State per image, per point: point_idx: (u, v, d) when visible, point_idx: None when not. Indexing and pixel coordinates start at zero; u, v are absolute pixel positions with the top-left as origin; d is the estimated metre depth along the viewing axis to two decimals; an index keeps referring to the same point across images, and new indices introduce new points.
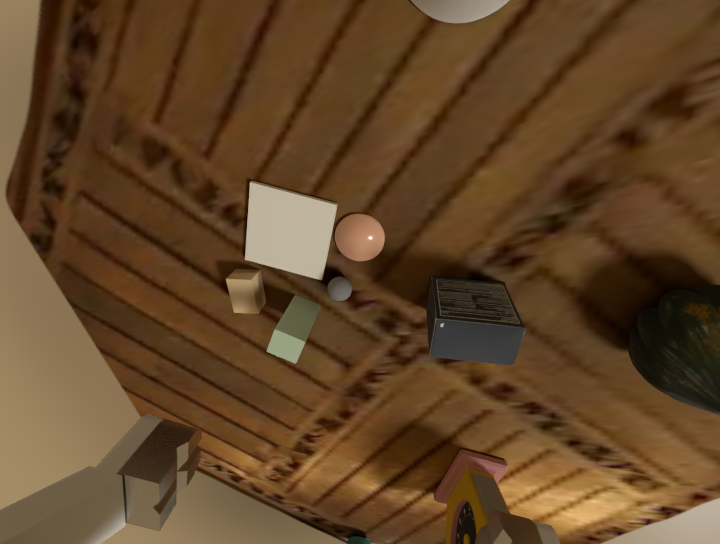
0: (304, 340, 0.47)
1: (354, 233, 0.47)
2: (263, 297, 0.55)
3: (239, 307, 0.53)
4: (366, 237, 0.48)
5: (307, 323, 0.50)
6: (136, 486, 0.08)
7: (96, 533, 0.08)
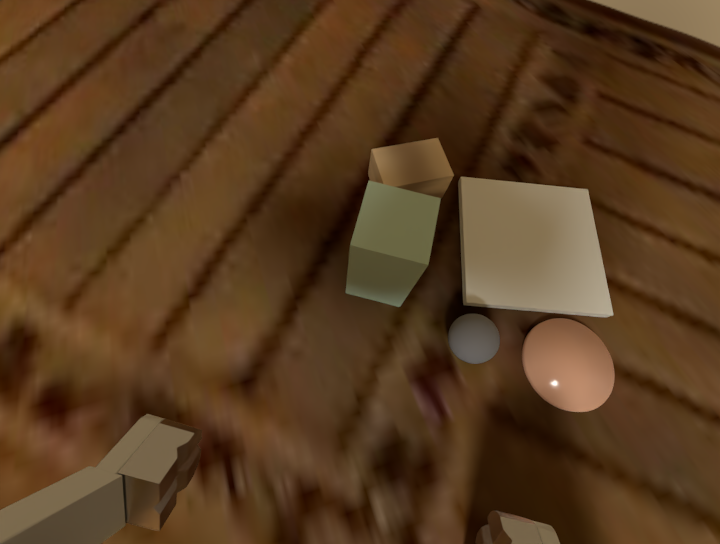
0: None
1: (575, 352, 0.27)
2: None
3: (386, 157, 0.28)
4: (577, 375, 0.26)
5: None
6: (136, 486, 0.08)
7: (96, 533, 0.08)
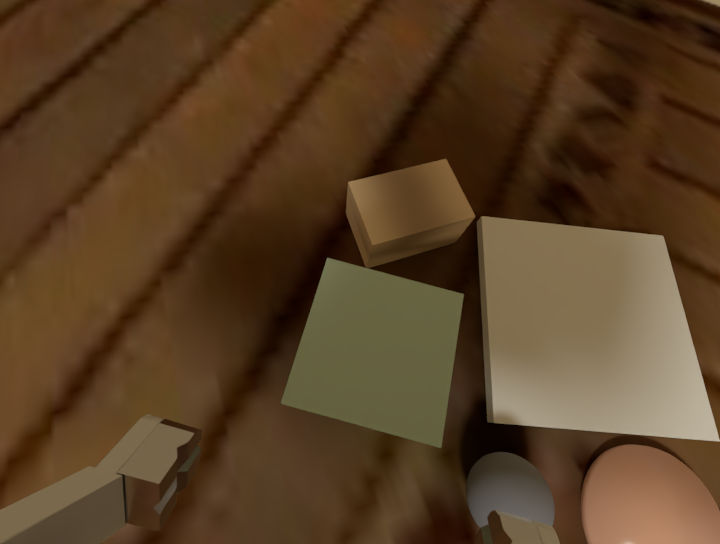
0: None
1: (665, 506, 0.17)
2: (388, 258, 0.20)
3: (371, 194, 0.19)
4: None
5: None
6: (136, 486, 0.08)
7: (96, 533, 0.08)
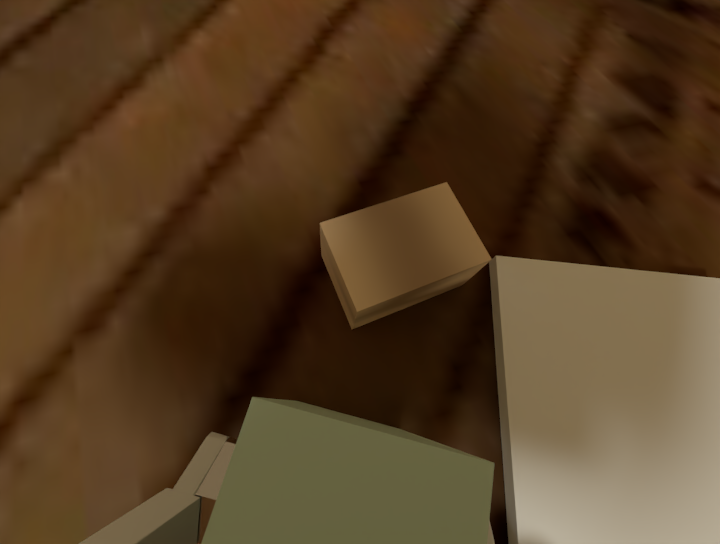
0: None
1: None
2: (380, 315, 0.15)
3: (352, 237, 0.14)
4: None
5: None
6: (212, 507, 0.08)
7: None
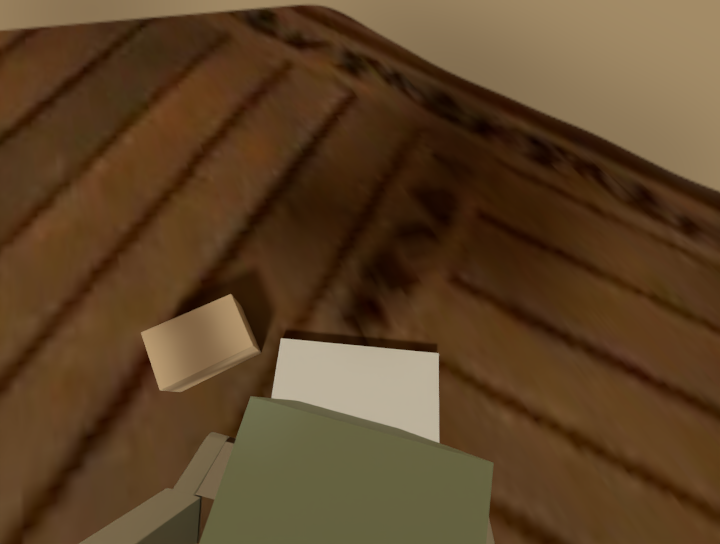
0: None
1: None
2: (196, 382, 0.24)
3: (162, 340, 0.22)
4: None
5: None
6: None
7: None
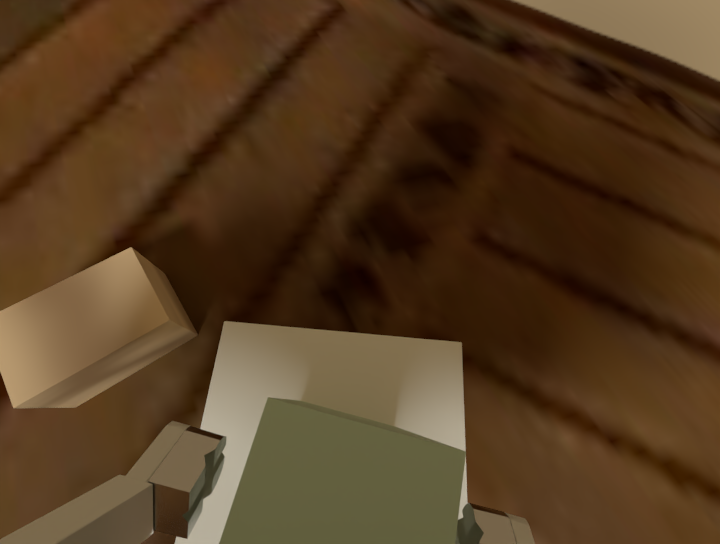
0: None
1: None
2: (95, 389, 0.16)
3: (18, 328, 0.14)
4: None
5: None
6: (166, 494, 0.08)
7: (126, 542, 0.08)
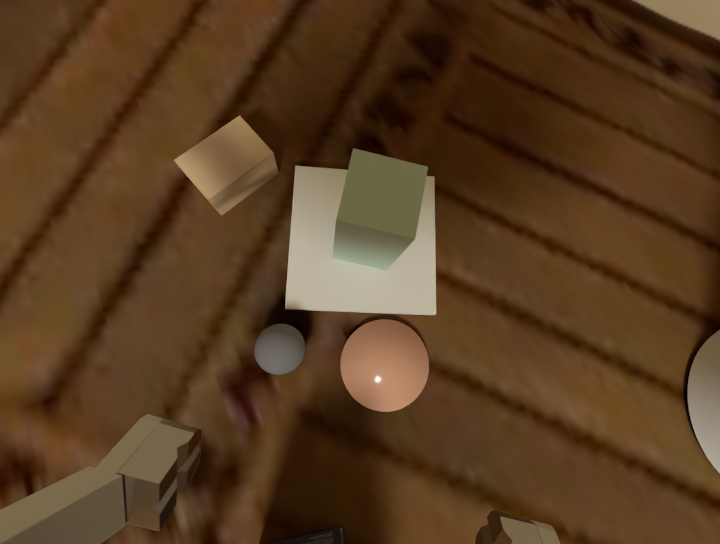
0: (414, 236, 0.19)
1: (392, 353, 0.27)
2: (232, 202, 0.28)
3: (194, 163, 0.25)
4: (390, 376, 0.27)
5: None
6: (136, 486, 0.08)
7: (96, 533, 0.08)
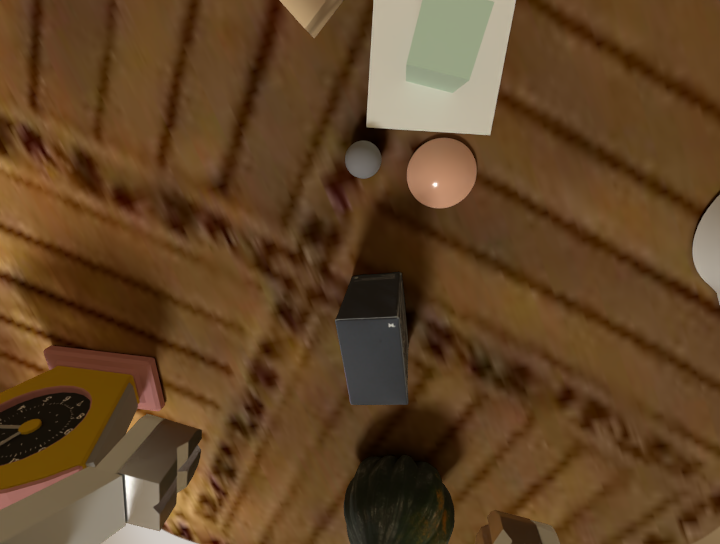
0: (469, 77, 0.24)
1: (448, 166, 0.35)
2: (322, 23, 0.31)
3: None
4: (444, 183, 0.35)
5: None
6: (136, 486, 0.08)
7: (96, 533, 0.08)
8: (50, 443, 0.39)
